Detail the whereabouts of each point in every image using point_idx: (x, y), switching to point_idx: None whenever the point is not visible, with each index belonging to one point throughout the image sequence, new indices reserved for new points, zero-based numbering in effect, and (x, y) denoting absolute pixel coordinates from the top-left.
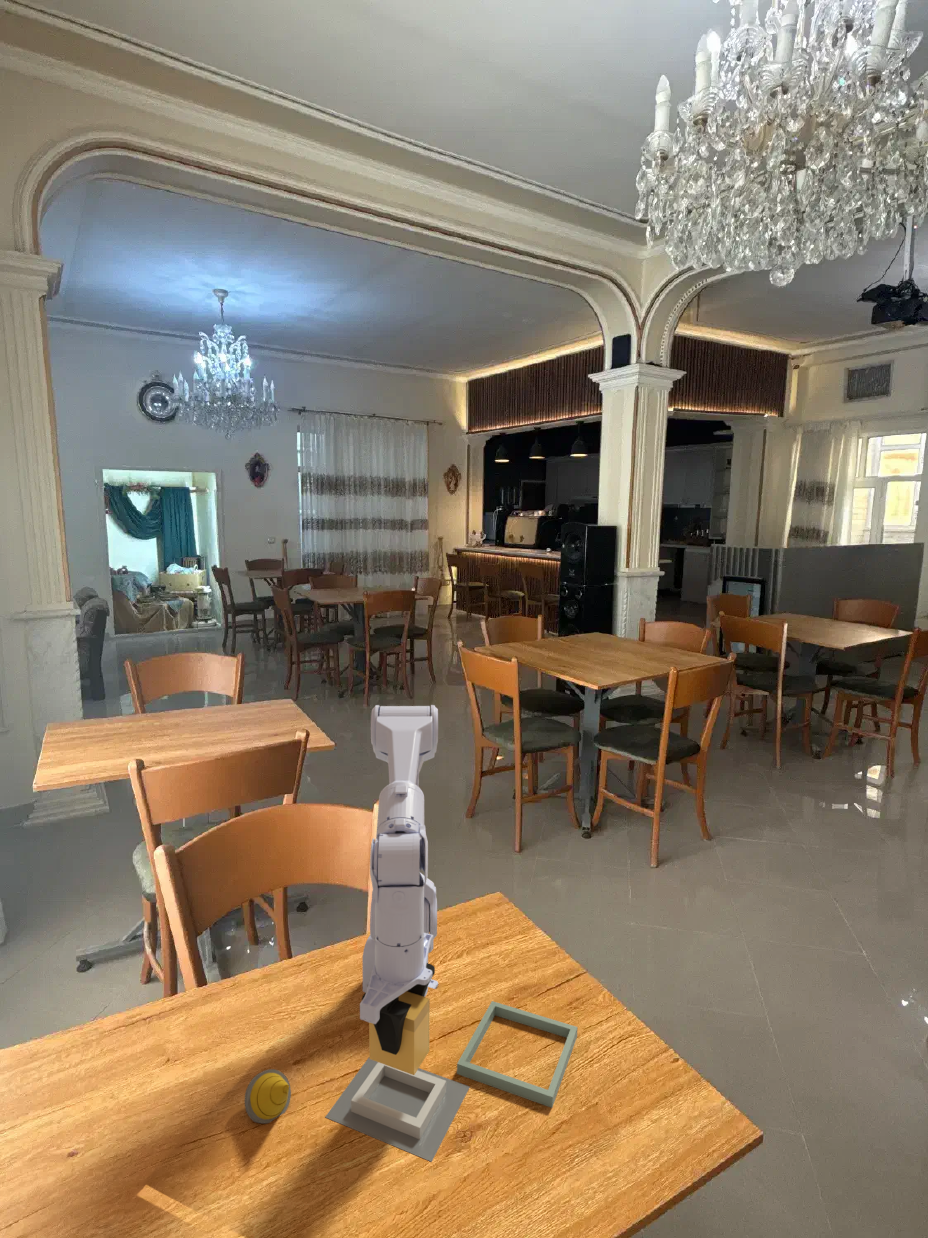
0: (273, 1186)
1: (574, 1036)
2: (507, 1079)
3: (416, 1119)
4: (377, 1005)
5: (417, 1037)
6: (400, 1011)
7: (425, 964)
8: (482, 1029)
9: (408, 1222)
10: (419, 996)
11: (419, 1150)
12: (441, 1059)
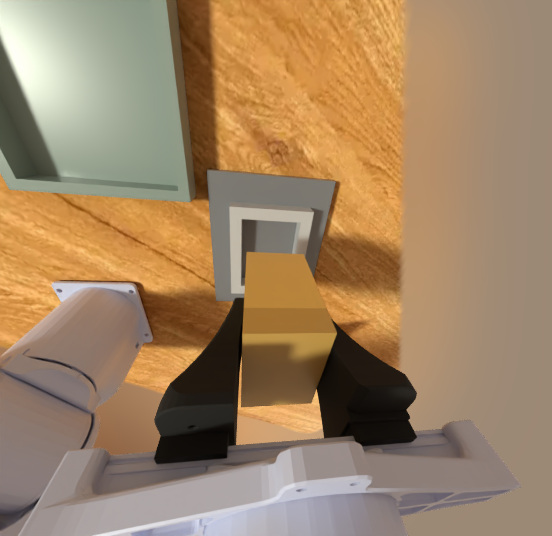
0: (368, 302)
1: None
2: (172, 94)
3: (303, 221)
4: (508, 489)
5: (304, 291)
6: (402, 396)
7: (252, 508)
8: (92, 184)
9: (396, 181)
10: (246, 354)
11: (324, 202)
12: (176, 227)
